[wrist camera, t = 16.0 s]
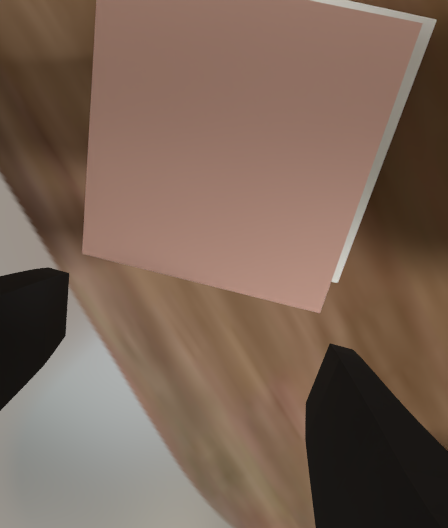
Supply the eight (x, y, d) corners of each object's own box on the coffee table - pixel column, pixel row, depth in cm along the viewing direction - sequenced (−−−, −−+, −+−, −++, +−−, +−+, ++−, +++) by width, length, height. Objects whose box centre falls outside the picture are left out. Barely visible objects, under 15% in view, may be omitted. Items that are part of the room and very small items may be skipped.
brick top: (355, 70, 10) (422, 23, 5) (303, 239, 12) (319, 313, 7) (180, 32, 10) (99, -43, 6) (157, 204, 12) (81, 253, 7)
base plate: (426, 26, 14) (436, 19, 13) (334, 275, 18) (337, 283, 17) (158, -33, 15) (150, -43, 14) (128, 222, 19) (120, 227, 18)
